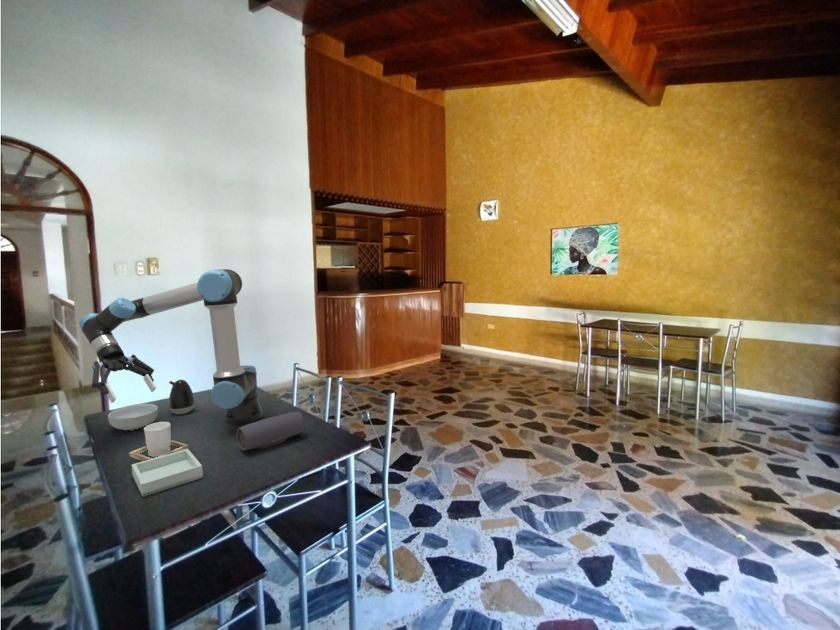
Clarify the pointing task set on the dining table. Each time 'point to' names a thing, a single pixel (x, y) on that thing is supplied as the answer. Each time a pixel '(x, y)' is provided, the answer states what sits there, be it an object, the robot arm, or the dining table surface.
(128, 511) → the dining table surface
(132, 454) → the tan flat square frame
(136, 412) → the cereal bowl
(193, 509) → the dining table surface
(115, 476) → the dining table surface
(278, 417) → the bluetooth speaker
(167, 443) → the white cup
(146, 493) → the bin
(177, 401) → the pump dispenser
